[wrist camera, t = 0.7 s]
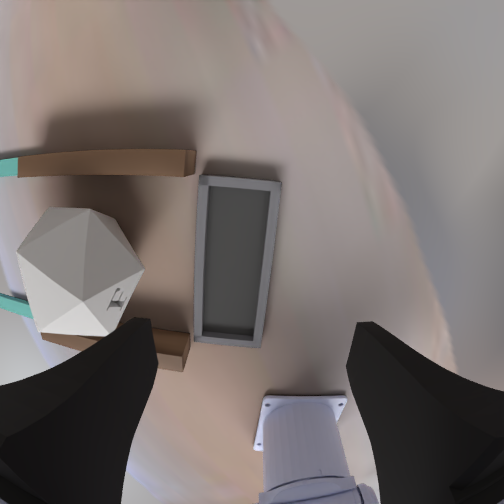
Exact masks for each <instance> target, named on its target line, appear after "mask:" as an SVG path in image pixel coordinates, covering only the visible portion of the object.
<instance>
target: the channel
mask: <svg viewBox="0 0 504 504" xmlns="http://www.w3.org/2000/svg"><path fill="white" fill-rule="evenodd" d="M195 162H196V151H192V150H180V149H109V150H86V151H71V152H58V153H47V154H38V155H29V156H21V157H18V178H20V177H36V176H59V175H150V176H175V177H185V176H189V175H192V174H195ZM123 324H124V323H120V322H119V323H118V325H117V327H116V329H117V328H118V327H120V326H121V325H123ZM152 332H153V338H154V343H155V348H156V353H157V358H158V363H159V364H158V368H159V369H165V370H171V371H178V372H183V370H184V367H185V363H186V360H187V357H188V353H189V350H190V333H183V332H175V331H168V330H162V329H155V328H152ZM41 336H42V339H43V340H46V341H49V342H52V343H56V344H59V345H62V346H65V347H69V348H72V349H76V350H79V351H83V350H85V349H87V348H88V347H90V346H92V345H93V344H95V343H96V342H98V341H99V340H101V339H102V338H104V337H105V336H84V335H68V334H55V333H44V332H41Z"/></svg>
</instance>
